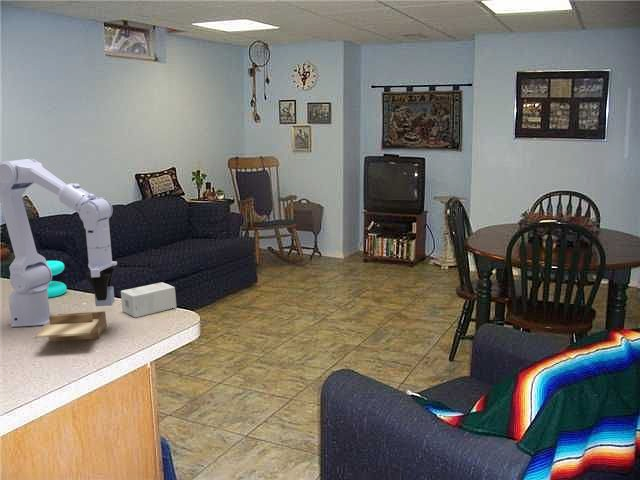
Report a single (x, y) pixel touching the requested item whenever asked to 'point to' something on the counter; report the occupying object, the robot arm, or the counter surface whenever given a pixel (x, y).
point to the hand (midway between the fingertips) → (103, 297)
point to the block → (109, 299)
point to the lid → (68, 325)
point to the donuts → (56, 286)
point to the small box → (148, 299)
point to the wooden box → (95, 332)
